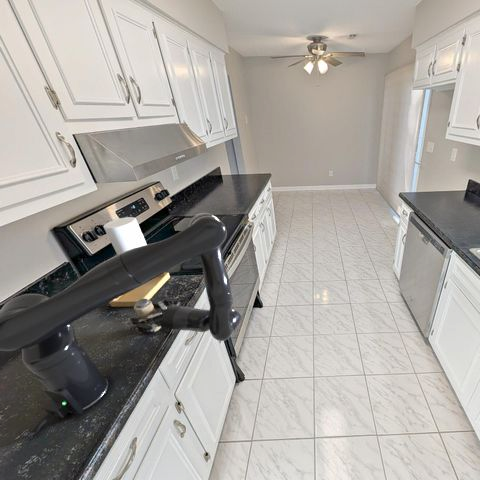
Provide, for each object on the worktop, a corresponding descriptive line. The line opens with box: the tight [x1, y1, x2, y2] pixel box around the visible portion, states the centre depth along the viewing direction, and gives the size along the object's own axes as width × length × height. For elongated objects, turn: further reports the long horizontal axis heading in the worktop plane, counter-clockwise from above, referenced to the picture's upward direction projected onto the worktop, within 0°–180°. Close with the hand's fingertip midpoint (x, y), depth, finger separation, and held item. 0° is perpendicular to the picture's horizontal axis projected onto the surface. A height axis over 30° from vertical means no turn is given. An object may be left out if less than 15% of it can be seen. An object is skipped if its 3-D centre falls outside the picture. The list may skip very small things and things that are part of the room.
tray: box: [108, 272, 171, 308], centre depth 110 cm, size 20×14×3 cm
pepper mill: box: [133, 299, 162, 333], centre depth 88 cm, size 5×5×12 cm
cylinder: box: [103, 216, 148, 256], centre depth 122 cm, size 12×12×25 cm
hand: (141, 312), depth 88 cm, fingers open, 7 cm apart
